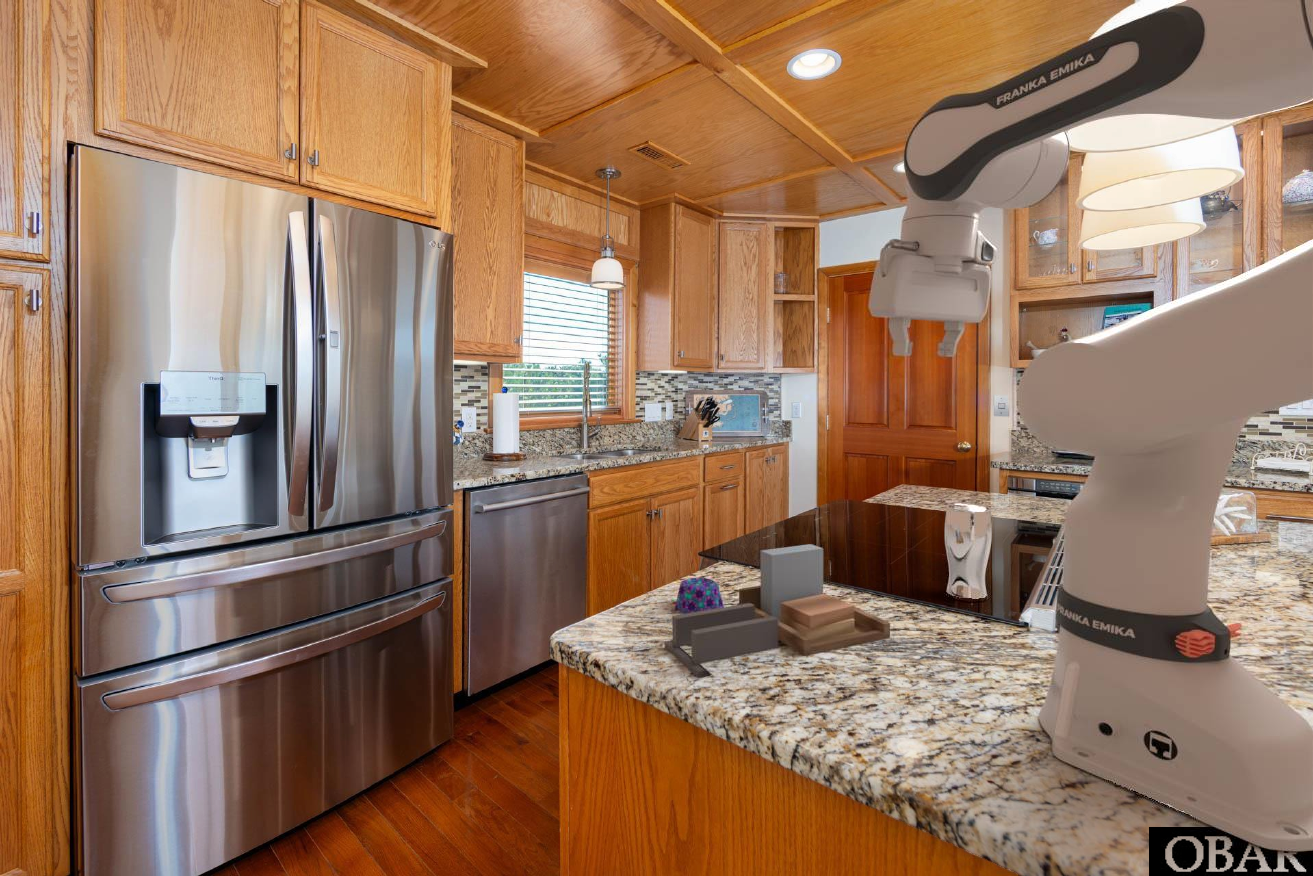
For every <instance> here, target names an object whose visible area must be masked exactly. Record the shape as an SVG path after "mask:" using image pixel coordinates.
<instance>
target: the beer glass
mask: <svg viewBox="0 0 1313 876" xmlns="http://www.w3.org/2000/svg"><path fill="white" fill-rule="evenodd" d="M991 510H992V508H991V507H990V506H989V507H988V506H986V505H980V504H974V503H973V504H972V503H951V504H948V505H947V504H946V510H945V520H944V521H945V522H944V545H945V550H946V557H947V562H948V572H949V575H948V576H949V577H948V583H947V586H946V591H945V592H947V593H948V594H950V595H952V596H956V597H959V598H972V599H979V598H985V597H986V596H987V597H988V593H987V589H986V570H987V565H988V562H989V561H988V560H989V556H990V553H991V545H992V538H993V535H992V534H993V529H992V528H993V526H992V522H993V521H992V511H991Z"/></svg>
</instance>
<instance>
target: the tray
mask: <svg viewBox="0 0 1313 876" xmlns="http://www.w3.org/2000/svg"><path fill="white" fill-rule="evenodd" d="M823 594H826V595H828V594H827V593H825V592H823ZM828 596H830V595H828ZM747 603H751V604H753V605H755V619H759V618H765V617H771V616H770V615H768V614H766V613H765V612H763V611H761V585H756V586H750V587H743V588H739V589H738V605H741V604H747ZM854 619H855V632H853V633H848V634H843V635H838V636H833V637H828V638H823V639H818V640H813V641H811V639H810V638H808V637H806V636H805V635H803V634H801V633H800V632H798V631H796V630H794V629H793V628H791V627H789V626H787V625H786V624H784V623H782V622H780V621H779V620H778V642H779V641H780V643H782V644H784V645H785V646H788V647H789V648H791V649H792V650H794V651H796V652H797V653H799V654H800V655H802V656H803V657H807V656H811V655H816V654H817V655H818V654H821V653H826V652H830V651H835V650H840V649H845V648H849V647H854V646H857V645H864V644H867V643H871V642H872V643H873V642H878V641H882V640H886V639H890V638H891V622H890V621H886V620H884V619H882V618H880V617H878V616H875V615H873V614H871V613H868V612H866V611H864V610H862V609H860V608H858V607H856V606H854Z"/></svg>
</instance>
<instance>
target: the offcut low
mask: <svg viewBox="0 0 1313 876" xmlns="http://www.w3.org/2000/svg"><path fill="white" fill-rule="evenodd" d="M781 622H782V623H784V624H786V625H787V626H789V627H791V628H793V629H794V630H796V631H798V632H800V633H801V634H803V635H805V636H806V637H808V638H810V639H811V641H813V640H818V639H823V638H828V637H833V636H838V635H843V634H848V633H853V632H855V619H850V620H845V621H841V622H837V623H833V624H829V625H825V626H821V627H817V628H813V629H809V628H807V627H805V626H802V625H800V624H798V623H796V622H794V621H792V620H790V619H788V618H786V617H783V616H781Z"/></svg>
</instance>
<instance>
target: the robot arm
mask: <svg viewBox="0 0 1313 876" xmlns="http://www.w3.org/2000/svg"><path fill="white" fill-rule="evenodd" d="M1312 101H1313V0H1183V1H1179V2H1177V3H1174V4H1171V5H1169V6H1167V7H1164V8H1162V9H1159V10H1156V11H1154V12H1152V13H1149V14H1146V15H1144V16H1142V17H1139V18H1136V19H1133V20H1131V21H1129V22H1127V23H1124V24H1122V25H1119V26H1116V27H1114V28H1112V29H1110V30H1108V31H1106V32H1104V33H1102V34H1100V35H1097V36H1096V37H1093V38H1091V39H1089V40H1087V41H1084V42H1083V43H1081V44H1078V45H1076V46H1075V47H1073V48H1070V49H1068V50H1066V51H1064V52H1062V53H1060V54H1058V55H1056V56H1054V57H1052V58H1049V59H1048V60H1046V61H1044V62H1041V63H1039V64H1037V65H1036V66H1033V67H1032V68H1030V69H1027V70H1025V71H1023V72H1021V73H1020V74H1017V75H1015V76H1013V77H1011V78H1009V79H1007V80H1005V81H1003V82H1001V83H999V84H996V85H995V86H992V87H989V88H987V89H983V90H979V91H976V92H965V93H955V94H951V95H948V96H946V97H943V98H941V99H940V100H938V101H937V102H936V103H934V104H933V105H932V106H930V107H929V109H928V110H926V111H925V112H924V113H923V115H922V116H921V117H920V118H919V119H918V120H917V122H915V124H914V126H913V127H912V129H911V131H910V133H909V135H908V137H907V140H906V142H905V146H904V152H903V170H904V173H905V176H906V179H905V193H906V198H907V199H906V201H907V202H906V207H905V211H904V214H903V216H902V221H901V231H900V239H899V238H891V239H890V240H889V241H888V242H887V243H886V244H884V246H883V247H882V248H881V250H880V253H879V259H878V261H877V263H876V266H875V267H874V272H873V278H872V281H871V287H870V292H869V299H868V309H869V311H870V312H869V313H870V314H871V316H872V317H874V318H887V319H888V329H889V333H890V337H891V339H892V341H893V345H892V354H893V355H894V356H896V357H897V356H899V357H909V356H911V355H912V353H913V350H912V349H913V346H914V341H910V339H909V333H908V328H910V327H911V320H915V321H917V320H918V321H932V322H944V326H943V328H944V331H946V332H945V334H944V337H943V339H942V342H938V344H937V352H936V353H937V356H938V357H948V358H949V357H951V358H952V357H955V356H956V354H957V347H958V343H959V341H960V340H961V338H962V336H963V334H964V332H965V329H966V323H968V324H974V323H975V324H976V323H978V324H979V323H981V322H982V321H983V319H984V318H985V316H986V314H987V312H988V307H989V302H990V296H991V295H990V294H991V287H992V279H993V278H992V270H991V268H990V267H989V265H990V266H991V265H994V264H995V263H996V260H997V254H998V253H997V252H998V250H997V247H995V246H994V245H993V244H992V243H991V242H990V241H989V240H988V239H986V237H985V236H984V235H983V233H982V232H981V231H980V230H978V226H979V221H980V220H979V218H980V214H981V212H982V211H983V210H984V209H986V208H995V209H1000V210H1001V209H1003V210H1018V209H1024V208H1029V207H1033V206H1035V205H1037V204H1040V203H1041V202H1042V201H1043V200H1045V199H1046V198H1047V197H1048V196H1049V195H1051V194H1052V192H1053V191H1055V189H1056V188H1057V186H1058V185H1059V183H1060V182H1061V181H1062V179H1063V177H1064V175H1065V173H1066V170H1067V167H1068V165H1069V160H1070V153H1071V152H1070V148H1071V147H1070V140H1069V137H1068V134H1067V132H1068V131H1069V130H1072V129H1074V128H1077V127H1079V126H1083V125H1085V124H1088V123H1091V122H1094V121H1099V120H1103V119H1108V118H1112V117H1113V118H1114V117H1120V116H1121V117H1122V116H1132V115H1135V116H1136V115H1161V116H1163V115H1165V116H1177V117H1178V116H1179V117H1189V118H1190V117H1191V118H1199V119H1200V118H1201V119H1210V120H1211V119H1212V120H1223V121H1225V120H1226V121H1228V120H1229V121H1231V120H1233V121H1234V120H1241V119H1245V118H1246V119H1247V118H1252V117H1255V116H1260V115H1265V114H1268V113H1273V112H1276V111H1281V110H1286V109H1288V108H1289V109H1290V108H1293V107H1295V106H1297V107H1298V106H1299V105H1303V104H1306V103H1309V102H1312ZM1016 393H1017V396H1016V397H1017V398H1016V400H1017V401H1016V402H1017V408H1018V412H1019V415H1020V418H1021V420H1022V422H1023V424H1024V426H1025V427H1026V429H1027V430H1028V431H1029V432H1030V434H1031V435H1033V437H1035V438H1036V439H1037V440H1038V441H1039V442H1041V443H1043V444H1045V445H1048V446H1049V447H1052V448H1056V449H1059V450H1063V451H1066V452H1069V453H1073V454H1074V453H1075V454H1078V455H1083V456H1088V457H1089V456H1090V457H1094V459H1093V462H1092V466H1091V468H1090V471H1089V472H1088V473H1089V474H1088V476H1087V478H1086V480H1085V482H1084V485H1083V486H1082V488H1081V489H1080V491H1079V492H1078V494H1077V495H1076V496H1075V497H1074V498H1073V499H1072V500H1071V502H1070V503H1069V505H1068V507H1067V509H1066V512H1065V515H1064V531H1063V533H1064V535H1063V564H1062V583H1061V584H1060V585H1058V586H1057V593H1056V605H1055V606H1056V607H1055V608H1056V609H1055V610H1056V611H1055V620H1056V621H1055V622H1056V628H1057V633H1058V642H1057V648H1056V655H1055V656H1056V657H1055V660H1054V661H1055V662H1054V667H1053V671H1052V676H1051V680H1050V683H1049V688H1048V689H1047V693H1046V697H1045V699H1044V703H1043V705H1042V706H1041V708H1040V711H1039V714H1038V720H1039V722H1040V725H1041V727H1042V728H1043V730H1045V732H1046V733H1047V735H1049V737H1050V739H1051V741H1052V742H1051V743H1052V744H1051V750H1052V753H1053V755H1054V756H1055V757H1056V758H1057V759H1058V760H1061V761H1062V762H1064V763H1067V764H1069V765H1071V766H1073V767H1075V768H1079V769H1080V770H1083V771H1085V772H1087V773H1090V774H1092V775H1095V776H1097V777H1098V778H1101V779H1103V780H1106V781H1108V780H1109V781H1108V782H1110V781H1112V782H1113V783H1112V782H1111V783H1112V784H1115V783H1116V784H1115V785H1117V786H1119V785H1121V786H1120V787H1122V788H1124V787H1126V788H1128V789H1127V790H1129V789H1131V790H1133V791H1136V792H1138V793H1141V794H1143V795H1146V796H1148V797H1149V798H1153V799H1154V800H1157V801H1159V802H1163V803H1165V804H1169V805H1171V806H1173V807H1175V808H1176V809H1178V810H1180V811H1184V812H1185V813H1187V814H1189V815H1192V817H1191V818H1193V817H1194V818H1193V819H1195V818H1196V820H1197V821H1200V822H1202V823H1205V824H1206V825H1209V826H1211V827H1214V828H1216V829H1218V830H1221V831H1223V832H1225V833H1228V834H1230V835H1232V836H1234V837H1237V838H1239V839H1241V840H1244V841H1246V842H1249V843H1251V844H1253V845H1255V846H1258V847H1261V848H1264V849H1268V850H1271V851H1272V850H1273V851H1283V852H1284V851H1285V852H1306V851H1307V852H1308V851H1313V727H1312V726H1311V724H1310V722H1308V720H1306V719H1305V718H1304V717H1303V716H1302V715H1301V714H1299V713H1298V712H1297V711H1296V710H1294V709H1293V708H1292V707H1291V706H1290V705H1288V704H1287V703H1286V702H1285V701H1284V700H1282V699H1281V697H1279V696H1278V695H1277V694H1276V693H1274V692H1273V691H1272V690H1271V689H1270V688H1269V687H1268V686H1266V685H1265V684H1264V683H1263V682H1261V681H1260V680H1259V679H1258V678H1257V677H1256V676H1255V675H1253V674H1252V673H1251V672H1250V671H1249V670H1248V669H1247V668H1246V667H1245V666H1243V665H1242V664H1241V663H1240V662H1239V661H1238V660H1236V659H1235V658H1234V657H1233V656H1232V655H1231V642H1232V641H1231V639H1233V638H1237V637H1239V636H1241V635H1242V632H1237V631H1240V629H1241V628H1242V626H1243V625H1242V623H1240V622H1236V623H1232V624H1228V625H1225V624H1224V622H1223V621H1221V619H1219V617H1218V616H1217V615H1216V614H1215V613H1214V611H1213V609H1212V608H1211V607H1210V606H1209V605H1208V593H1209V576H1210V575H1209V574H1210V563H1211V545H1212V533H1213V526H1214V520H1215V515H1216V510H1217V507H1218V503H1219V500H1220V497H1221V493H1222V490H1223V486H1224V484H1225V481H1226V477H1227V474H1228V471H1229V469H1230V466H1231V462H1232V459H1233V457H1234V452H1235V449H1236V447H1237V446H1236V445H1237V443H1238V440H1239V437H1240V435H1241V432H1242V430H1243V428H1245V426H1246V424H1247V423H1248V422H1249V421H1250V419H1251V418H1252V417H1253V416H1254V415H1259V414H1262V413H1265V412H1268V411H1269V412H1270V411H1273V410H1275V409H1277V410H1278V409H1280V408H1284V407H1286V406H1290V405H1291V406H1292V405H1294V404H1299V403H1302V402H1305V401H1310V400H1313V239H1311V240H1309V241H1307V242H1305V243H1303V244H1301V245H1299V246H1298V247H1295V248H1293V249H1291V250H1289V251H1287V252H1285V253H1284V254H1281V255H1279V256H1278V257H1277V256H1276V257H1275V258H1273V259H1272V260H1269V261H1267V262H1266V263H1264V264H1262V265H1259V266H1258V267H1254V268H1253V269H1251V270H1248V271H1246V272H1244V273H1242V274H1240V275H1238V276H1235V277H1233V278H1231V279H1227V280H1226V281H1222V282H1221V283H1218V284H1216V285H1213V286H1210V287H1207V288H1205V289H1202V290H1199V291H1197V292H1194V293H1191V294H1189V295H1185V296H1184V297H1180V298H1178V299H1174V300H1173V301H1170V302H1167V303H1164V304H1162V305H1159V306H1157V307H1155V308H1152V309H1148V310H1147V311H1144V312H1142V313H1140V314H1137V315H1135V316H1132V317H1130V318H1126V319H1125V320H1122V321H1121V322H1120V321H1119V322H1118V323H1116V324H1113V325H1111V326H1108V327H1105V328H1104V329H1100V330H1099V331H1098V330H1097V331H1096V332H1093V333H1090V334H1087V335H1084V336H1080V337H1077V338H1074V339H1071V340H1067V341H1065V342H1061V343H1059V344H1055V345H1052V346H1050V347H1048V348H1046V349H1045V350H1043V351H1041V352H1040V353H1039V354H1037V355H1036V356H1035V357H1034V358H1033V359H1032V360H1031V361H1030V363H1028V365H1027V367H1025V369H1024V371H1023V373H1022V375H1021V378H1020V380H1019V382H1018V387H1017V392H1016ZM1126 788H1125V789H1126ZM1131 790H1130V791H1131ZM1133 791H1132V792H1133ZM1138 793H1137V794H1138ZM1149 798H1148V799H1149ZM1154 800H1153V801H1154Z"/></svg>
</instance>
